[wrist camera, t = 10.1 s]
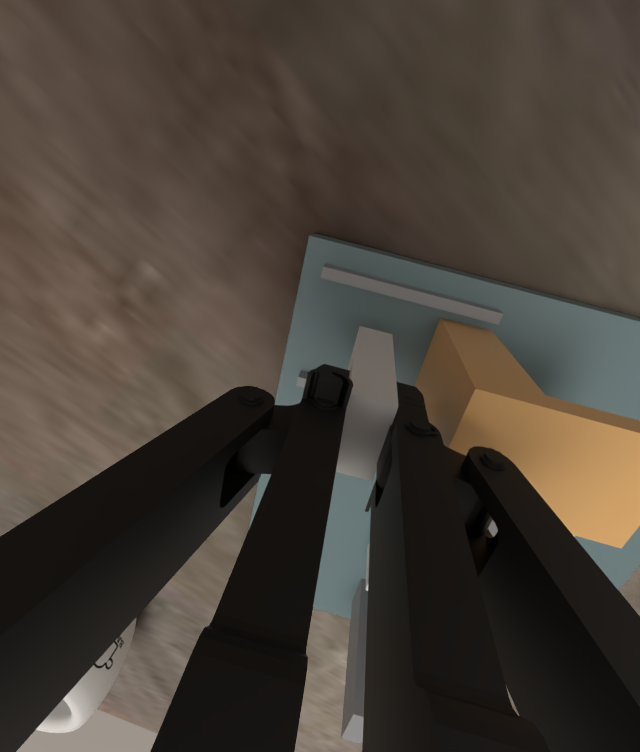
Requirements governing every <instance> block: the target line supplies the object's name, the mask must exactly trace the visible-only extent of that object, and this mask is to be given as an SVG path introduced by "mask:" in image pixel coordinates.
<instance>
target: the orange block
mask: <svg viewBox="0 0 640 752" xmlns="http://www.w3.org/2000/svg"><path fill="white" fill-rule="evenodd" d="M415 387H417V388H418V390H419V391H420V392H421V393H422V394H423V397H424V403H425V407H426V408H425V409H426V411H427V416H428V420H429V423H431V424H432V425H434V426H435V427H436V428H437V429H438V430H439V432H440V433H441V436H442V440H443V444H444V445H445V446H446V447H448V448H450V449H452V450H454V451H456V452H458V453H461V454H463V455H465V456H466V455H467V453H468V451H469V449H470V448H472V447H474V446H482V447H486V448H492V449H495V451H496V450H497V451H499V452H501V453H502V454H503V455H504V456H506V457H507V458H509V459H510V460H511V461H512V462H513V463H514V464H515V465H516V466H517V468H518V469H519V470H520V471H521V472H522V474H523V475H524V476H525V477H526V479H527V480H528V481H529V482H530V483H531V485H532V486H533V487H534V488H535V490H536V491H537V492H538V493H539V494H540V496H541V497H542V498H543V499H544V500H545V502H546V503H547V504H548V505H549V507H550V508H551V509H552V510H553V511H554V513H555V514H556V515H557V516H558V518H559V519H560V520H561V521H562V522H563V524H564V525H565V526H566V527H567V529H568V530H569V531H570V532H571V533H572V535H575V536H578V537H582V538H585V539H589V540H593V541H596V542H600V543H603V544H607V545H610V546H614V547H617V548H622V547H623V546H624V545H625V543H626V542H627V541H628V540H629V538H630V537H631V536H632V535H633V533H634V532H635V531H636V530H637V529H638V527H639V526H640V421H639V420H635V419H631V418H628V417H624V416H620V415H617V414H613V413H609V412H605V411H602V410H598V409H594V408H591V407H587V406H583V405H580V404H576V403H572V402H568V401H565V400H561V399H557V398H554V397H550V396H546V395H545V394H544V393H543V392H542V390H541V389H540V388H539V387H538V386H537V384H536V383H535V382H534V381H533V380H532V378H531V377H530V376H529V375H528V374H527V372H526V371H525V370H524V369H523V368H522V366H521V365H520V364H519V363H518V362H517V360H516V359H515V358H514V357H513V356H512V354H511V353H510V352H509V351H508V350H507V348H506V347H505V346H504V345H503V344H502V342H501V341H500V340H499V339H498V338H497V336H496V335H495V334H494V333H493V331H491V330H488V329H484V328H480V327H476V326H473V325H469V324H465V323H461V322H457V321H454V320H450V319H446V318H442V317H440V320H439V322H438V325H437V328H436V330H435V333H434V336H433V338H432V341H431V344H430V346H429V349H428V352H427V354H426V357H425V359H424V362H423V365H422V367H421V370H420V373H419V375H418V378H417V381H416V383H415Z"/></svg>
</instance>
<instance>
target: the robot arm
mask: <svg viewBox="0 0 640 752" xmlns="http://www.w3.org/2000/svg"><path fill="white" fill-rule="evenodd" d="M425 408H426V407H425V403H424V397H423V394H422V393H421V392H420V391H419V390H418V388H417V387H415V386H411V385H407V384H404V383H400V382H396V371H395V359H394V347H393V335H392V334H389V333H385V332H381V331H377V330H374V329H370V328H366V327H362V326H360V327H359V330H358V334H357V338H356V341H355V345H354V348H353V352H352V356H351V359H350V363H349V367H348V370H346V369H342V368H338V367H335V366H331V365H327V364H323V365H321V366H319V367H317V368H316V369H313V370H310V371H309V372H308V374H307V379H306V383H305V388H304V392H303V396H302V400H301V402H300V403H298V404H295V405H289V406H285V405H275V400H274V397H273V396H272V395H271V394H270V393H269V392H267V391H265V390H263V389H260V388H257V387H253V386H252V387H251V386H244V387H237V388H234V389H232V390H230V391H228V392H227V393H225V394H223V395H222V396H220V397H219V398H217V399H216V400H214V401H213V402H211V403H209V404H208V405H206V406H205V407H203V408H202V409H200V410H198V411H197V412H195V413H194V414H192V415H191V416H189V417H187V418H186V419H184V420H183V421H181V422H180V423H178V424H176V425H175V426H173V427H172V428H170V429H169V430H167V431H165V432H164V433H162V434H161V435H159V436H158V437H156V438H154V439H153V440H151V441H150V442H148V443H147V444H145V445H143V446H142V447H140V448H139V449H137V450H136V451H134V452H132V453H131V454H129V455H128V456H126V457H125V458H123V459H122V460H120V461H118V462H117V463H115V464H114V465H112V466H111V467H109V468H107V469H106V470H104V471H103V472H101V473H100V474H98V475H96V476H95V477H93V478H92V479H90V480H89V481H87V482H85V483H84V484H82V485H81V486H79V487H78V488H76V489H74V490H73V491H71V492H70V493H68V494H67V495H65V496H63V497H62V498H60V499H59V500H57V501H56V502H54V503H52V504H51V505H49V506H48V507H46V508H45V509H43V510H41V511H40V512H38V513H37V514H35V515H34V516H32V517H31V518H29V519H27V520H26V521H24V522H23V523H21V524H20V525H18V526H16V527H15V528H13V529H12V530H10V531H9V532H7V533H5V534H4V535H2V536H1V537H0V752H16V751H17V750H18V749H19V748H20V746H21V745H22V744H23V743H24V742H25V741H26V740H27V739H28V737H29V736H30V735H31V734H32V733H33V732H34V731H35V730H36V729H37V728H38V726H39V725H40V724H41V723H42V722H43V721H44V720H45V719H46V717H47V716H48V715H49V714H50V713H51V712H52V711H53V710H54V709H55V707H56V706H57V705H58V704H59V703H60V702H61V701H62V700H63V699H64V697H65V696H66V695H67V694H68V693H69V692H70V691H71V690H72V688H73V687H74V686H75V685H76V684H77V683H78V682H79V681H80V680H81V678H82V677H83V676H84V675H85V674H86V673H87V672H88V671H89V669H90V668H91V667H92V666H93V665H94V664H95V663H96V662H97V661H98V659H99V658H100V657H101V656H102V655H103V654H104V653H105V652H106V651H107V649H108V648H109V647H110V646H111V645H112V644H113V643H114V642H115V640H116V639H117V638H118V637H119V636H120V635H121V634H122V633H123V632H124V630H125V629H126V628H127V627H128V626H129V625H130V624H131V623H132V621H133V620H134V619H135V618H136V617H137V616H138V615H139V614H140V613H141V611H142V610H143V609H144V608H145V607H146V606H147V605H148V604H149V603H150V601H151V600H152V599H153V598H154V597H155V596H156V595H157V594H158V592H159V591H160V590H161V589H162V588H163V587H164V586H165V585H166V584H167V582H168V581H169V580H170V579H171V578H172V577H173V576H174V575H175V573H176V572H177V571H178V570H179V569H180V568H181V567H182V566H183V565H184V563H185V562H186V561H187V560H188V559H189V558H190V557H191V556H192V554H193V553H194V552H195V551H196V550H197V549H198V548H199V547H200V546H201V544H202V543H203V542H204V541H205V540H206V539H207V538H208V537H209V536H210V534H211V533H212V532H213V531H214V530H215V529H216V528H217V527H218V525H219V524H220V523H221V522H222V521H223V520H224V519H225V518H226V517H227V515H228V514H229V513H230V512H231V511H232V510H233V509H234V508H235V506H236V505H237V504H238V503H239V502H240V501H241V500H242V499H243V498H244V496H245V495H246V494H247V493H248V492H249V491H250V490H251V489H252V488H253V486H254V485H255V484H256V483H257V482H258V480H259V478H260V476H261V474H271V476H270V479H269V481H268V484H267V486H266V489H265V491H264V494H263V496H262V499H261V501H260V504H259V506H258V509H257V511H256V514H255V516H254V519H253V521H252V523H251V526H250V528H249V531H248V533H247V536H246V538H245V541H244V543H243V546H242V548H241V551H240V553H239V556H238V558H237V561H236V563H235V566H234V568H233V571H232V573H231V576H230V578H229V580H228V583H227V585H226V588H225V590H224V593H223V595H222V598H221V600H220V603H219V605H218V608H217V610H216V613H215V615H214V617H213V620H212V622H211V623H210V625H209V626H208V627H205V628H204V630H203V631H202V633H201V635H200V636H199V639H198V641H197V643H196V645H195V647H194V650H193V652H192V654H191V656H190V659H189V661H188V664H187V666H186V668H185V671H184V673H183V676H182V678H181V680H180V683H179V685H178V687H177V690H176V692H175V695H174V697H173V699H172V702H171V704H170V706H169V709H168V711H167V714H166V716H165V718H164V721H163V723H162V726H161V728H160V730H159V733H158V735H157V737H156V740H155V742H154V745H153V747H152V749H151V752H294V750H295V744H296V737H297V731H298V725H299V718H300V712H301V706H302V699H303V693H304V687H305V680H306V672H307V661H308V657H307V655H306V646H307V639H308V633H309V628H310V622H311V616H312V610H313V604H314V598H315V592H316V586H317V580H318V574H319V568H320V562H321V556H322V550H323V544H324V538H325V532H326V527H327V521H328V515H329V509H330V503H331V497H332V491H333V485H334V479H335V473H336V472H339V473H342V474H346V475H350V476H353V477H357V478H361V479H364V480H368V481H372V480H373V477H374V474H375V471H376V481H375V483H374V486H373V489H372V492H371V495H370V497H369V500H368V503H367V506H366V509H365V512H369V509H370V507H371V519H370V548H369V577H368V605H367V634H366V663H365V692H364V721H363V749H362V752H640V616H639V615H638V614H637V613H636V611H635V610H634V609H633V608H632V607H631V605H630V604H629V603H628V602H627V600H626V599H625V598H624V597H623V596H622V594H621V593H620V592H619V591H618V589H617V588H616V587H615V586H614V585H613V583H612V582H611V581H610V580H609V578H608V577H607V576H606V575H605V574H604V572H603V571H602V570H601V569H600V568H599V566H598V565H597V564H596V563H595V561H594V560H593V559H592V558H591V557H590V555H589V554H588V553H587V552H586V550H585V549H584V548H583V547H582V546H581V544H580V543H579V542H578V541H577V539H576V538H575V537H574V536H573V535H572V533H571V532H570V531H569V530H568V529H567V527H566V526H565V525H564V524H563V522H562V521H561V520H560V519H559V518H558V516H557V515H556V514H555V513H554V511H553V510H552V509H551V508H550V507H549V505H548V504H547V503H546V502H545V500H544V499H543V498H542V497H541V496H540V494H539V493H538V492H537V491H536V490H535V488H534V487H533V486H532V485H531V483H530V482H529V481H528V480H527V479H526V477H525V476H524V475H523V474H522V472H521V471H520V470H519V469H518V468H517V466H516V465H515V464H514V463H513V462H512V461H511V460H510V459H509V458H507V457H506V456H504V455H503V454H502V453H501V452H499V451H497V450H496V451H495V449H492V448H486V447H482V446H474V447H472V448H470V449H469V451H468V453H467V455H466V456H465V455H463V454H461V453H458V452H456V451H454V450H452V449H450V448H448V447H446V446H445V445H444V444H443V440H442V436H441V433H440V432H439V430H438V429H437V428H436V427H435V426H434V425H432V424H431V423H429V420H428V416H427V411H426V409H425ZM376 469H377V470H376ZM492 520H493V521H494V522H495V524H496V527H497V529H498V531H497V533H496V535H495V536H494V537H493V536H492V534H491V533H490V531H489V529H488V527H489V526H490V524H491V522H492ZM505 684H506V685H505ZM506 686H507V688H508V691H509V693H510V695H511V697H512V700H513V702H514V704H515V706H516V709H517V711H518V713H519V715H520V716H518V715H517V714H516V712H515V711H514V710H513V708H512V705H511V702H510V700H509V697H508V693H507V689H506Z"/></svg>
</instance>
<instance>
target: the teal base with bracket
mask: <svg viewBox="0 0 640 752" xmlns="http://www.w3.org/2000/svg"><path fill="white" fill-rule="evenodd" d="M440 317H442V318H446V319H450V320H454V321H457V322H461V323H465V324H469V325H473V326H476V327H480V328H484V329H488V330H491V331H493V333H494V334H495V335H496V336H497V338H498V339H499V340H500V341H501V342H502V344H503V345H504V346H505V347H506V348H507V350H508V351H509V352H510V353H511V354H512V356H513V357H514V358H515V359H516V360H517V362H518V363H519V364H520V365H521V366H522V368H523V369H524V370H525V371H526V372H527V374H528V375H529V376H530V377H531V378H532V380H533V381H534V382H535V383H536V384H537V386H538V387H539V388H540V389H541V390H542V392H543V393H544V394H545V395H546V396H550V397H554V398H557V399H561V400H565V401H568V402H572V403H576V404H580V405H583V406H587V407H591V408H594V409H598V410H602V411H605V412H609V413H613V414H617V415H620V416H624V417H628V418H631V419H635V420H639V421H640V318H639V317H635V316H631V315H628V314H624V313H620V312H616V311H612V310H608V309H605V308H601V307H597V306H593V305H589V304H585V303H582V302H578V301H574V300H570V299H566V298H562V297H558V296H555V295H551V294H547V293H543V292H539V291H535V290H532V289H528V288H524V287H520V286H516V285H512V284H508V283H505V282H501V281H497V280H493V279H489V278H485V277H482V276H478V275H474V274H470V273H466V272H462V271H458V270H455V269H451V268H447V267H443V266H439V265H435V264H432V263H428V262H424V261H420V260H416V259H412V258H408V257H405V256H401V255H397V254H393V253H389V252H385V251H382V250H378V249H374V248H370V247H366V246H362V245H358V244H355V243H351V242H347V241H343V240H339V239H335V238H332V237H328V236H324V235H320V234H316V233H314V234H311V235H309V239H308V244H307V248H306V253H305V258H304V263H303V268H302V273H301V278H300V283H299V287H298V292H297V297H296V302H295V307H294V312H293V317H292V321H291V326H290V331H289V336H288V341H287V346H286V351H285V356H284V360H283V365H282V370H281V375H280V380H279V385H278V390H277V394H276V399H275V405H285V406H289V405H295V404H298V403H300V402H301V400H302V396H303V392H304V388H305V383H306V379H307V374H308V372H309V371H310V370H313V369H316V368H317V367H319V366H321V365H323V364H327V365H331V366H335V367H338V368H342V369H346V370H348V367H349V363H350V359H351V356H352V352H353V348H354V345H355V341H356V338H357V334H358V330H359V327H360V326H362V327H366V328H370V329H374V330H377V331H381V332H385V333H389V334H392V335H393V347H394V359H395V371H396V382H400V383H404V384H407V385H411V386H415V383H416V381H417V378H418V375H419V373H420V370H421V367H422V365H423V362H424V359H425V357H426V354H427V352H428V349H429V346H430V344H431V341H432V338H433V336H434V333H435V330H436V328H437V325H438V322H439V320H440ZM376 470H377V469H376ZM270 476H271V474H261V476H260V478H259V482H258V487H257V492H256V497H255V502H254V506H253V511H252V516H251V521H250V526H251V523H252V521H253V519H254V516H255V514H256V511H257V509H258V506H259V504H260V501H261V499H262V496H263V494H264V491H265V489H266V486H267V484H268V481H269V479H270ZM375 481H376V471H375V474H374V477H373V480H372V481H368V480H364V479H361V478H357V477H353V476H350V475H346V474H342V473H339V472H336V473H335V479H334V485H333V491H332V497H331V503H330V509H329V515H328V521H327V527H326V532H325V538H324V544H323V550H322V556H321V562H320V568H319V574H318V580H317V586H316V592H315V598H314V604H313V608H315V609H318V610H321V611H325V612H328V613H332V614H335V615H338V616H342V617H345V618H348V619H351V621H350V633H349V646H348V658H347V671H346V684H345V696H344V709H343V721H342V734H341V738H342V739H345V740H349V741H352V742H355V743H358V744H361V742H362V740H363V721H364V692H365V663H366V634H367V605H368V577H369V548H370V519H371V507H370V509H369V512H365V509H366V506H367V503H368V500H369V497H370V495H371V492H372V489H373V486H374V483H375ZM250 526H249V528H250ZM573 536H574V537H575V538H576V539H577V541H578V542H579V543H580V544H581V546H582V547H583V548H584V549H585V550H586V552H587V553H588V554H589V555H590V557H591V558H592V559H593V560H594V561H595V563H596V564H597V565H598V566H599V568H600V569H601V570H602V571H603V572H604V574H605V575H606V576H607V577H608V578H609V580H610V581H611V582H612V583H613V585H614V586H615V587H616V588H617V589H618V590H619V589H620V588H621V587H622V586H623V585H624V583H625V582H626V581H627V580H628V579H629V578H630V576H631V575H632V574H633V573H634V572H635V571H636V569H637V568H638V567H639V566H640V526H639V527H638V529H637V530H636V531H635V532H634V533H633V535H632V536H631V537H630V538H629V540H628V541H627V542H626V543H625V545H624V546H623V547H622V548H617V547H614V546H610V545H607V544H603V543H600V542H596V541H593V540H589V539H585V538H582V537H578V536H575V535H573Z"/></svg>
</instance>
